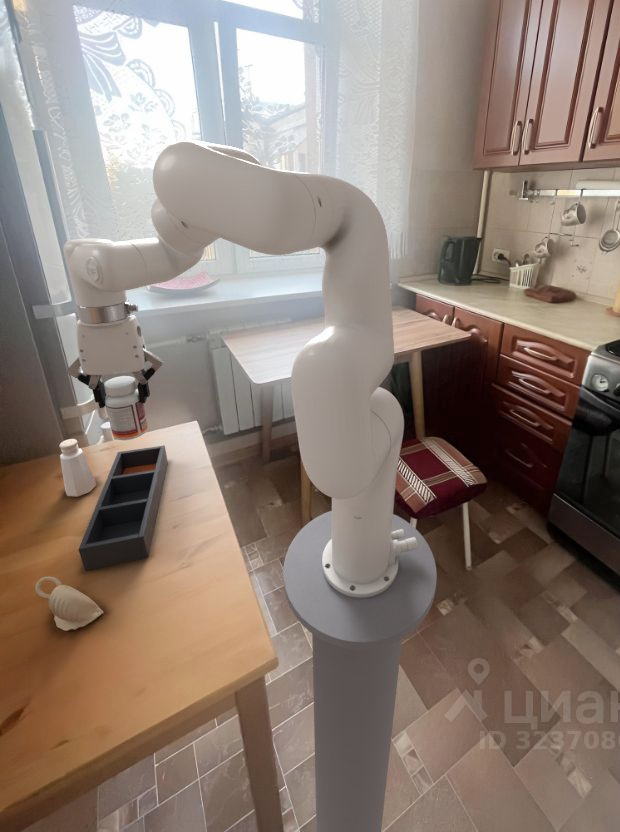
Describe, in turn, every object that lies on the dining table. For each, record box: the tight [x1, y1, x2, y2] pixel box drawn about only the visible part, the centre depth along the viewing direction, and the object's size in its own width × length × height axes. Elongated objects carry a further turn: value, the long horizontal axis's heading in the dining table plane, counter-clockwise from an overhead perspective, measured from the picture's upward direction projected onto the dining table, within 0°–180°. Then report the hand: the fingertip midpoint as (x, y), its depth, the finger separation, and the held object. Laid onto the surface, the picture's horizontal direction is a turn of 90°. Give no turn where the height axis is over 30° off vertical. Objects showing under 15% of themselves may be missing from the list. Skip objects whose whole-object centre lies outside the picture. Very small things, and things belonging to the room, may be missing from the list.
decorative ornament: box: [35, 575, 104, 632], centre depth 55 cm, size 4×8×5 cm, turn 64°
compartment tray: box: [77, 445, 169, 571], centre depth 74 cm, size 9×26×5 cm, turn 18°
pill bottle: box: [103, 375, 149, 441], centre depth 76 cm, size 6×6×11 cm
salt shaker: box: [58, 438, 97, 498], centre depth 77 cm, size 5×5×11 cm
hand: (124, 401), depth 75 cm, fingers closed on pill bottle, 6 cm apart
